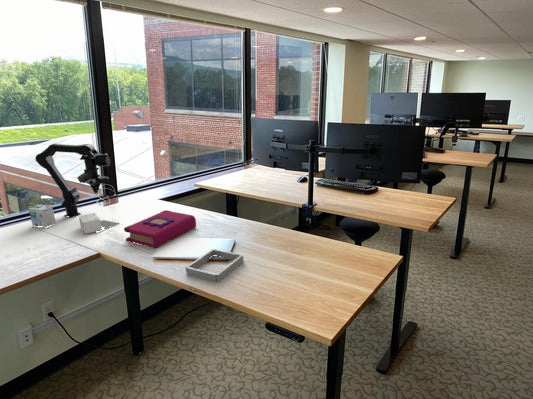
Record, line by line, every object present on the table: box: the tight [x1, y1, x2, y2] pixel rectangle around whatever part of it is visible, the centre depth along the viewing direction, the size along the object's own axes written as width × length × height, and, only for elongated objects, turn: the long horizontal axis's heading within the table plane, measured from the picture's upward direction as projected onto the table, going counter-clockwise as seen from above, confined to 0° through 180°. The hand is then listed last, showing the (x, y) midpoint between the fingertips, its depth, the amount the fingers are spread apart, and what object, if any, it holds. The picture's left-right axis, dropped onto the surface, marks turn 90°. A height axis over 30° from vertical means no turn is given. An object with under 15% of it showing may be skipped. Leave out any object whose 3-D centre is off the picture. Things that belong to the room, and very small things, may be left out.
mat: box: [100, 219, 120, 230], centre depth 205 cm, size 13×14×1 cm
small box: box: [78, 212, 102, 235], centre depth 201 cm, size 8×6×13 cm
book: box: [123, 209, 197, 249], centre depth 190 cm, size 21×28×8 cm
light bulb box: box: [28, 204, 57, 227], centre depth 209 cm, size 11×7×11 cm, turn 68°
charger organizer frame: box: [185, 248, 244, 283], centre depth 154 cm, size 16×18×3 cm
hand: (96, 193), depth 221 cm, fingers closed
